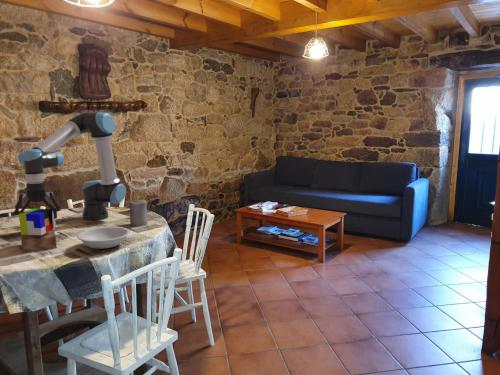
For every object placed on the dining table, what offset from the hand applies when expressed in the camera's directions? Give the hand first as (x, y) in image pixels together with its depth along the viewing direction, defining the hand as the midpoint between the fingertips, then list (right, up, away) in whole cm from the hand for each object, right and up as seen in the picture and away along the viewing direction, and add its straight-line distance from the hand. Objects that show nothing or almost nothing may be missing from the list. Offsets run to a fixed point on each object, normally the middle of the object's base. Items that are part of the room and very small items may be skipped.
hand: (39, 226), depth 185 cm
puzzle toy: (0, -3, -1) cm, 3 cm away
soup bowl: (+31, -10, +1) cm, 33 cm away
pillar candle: (+37, -3, +40) cm, 54 cm away
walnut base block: (0, -10, 0) cm, 10 cm away
